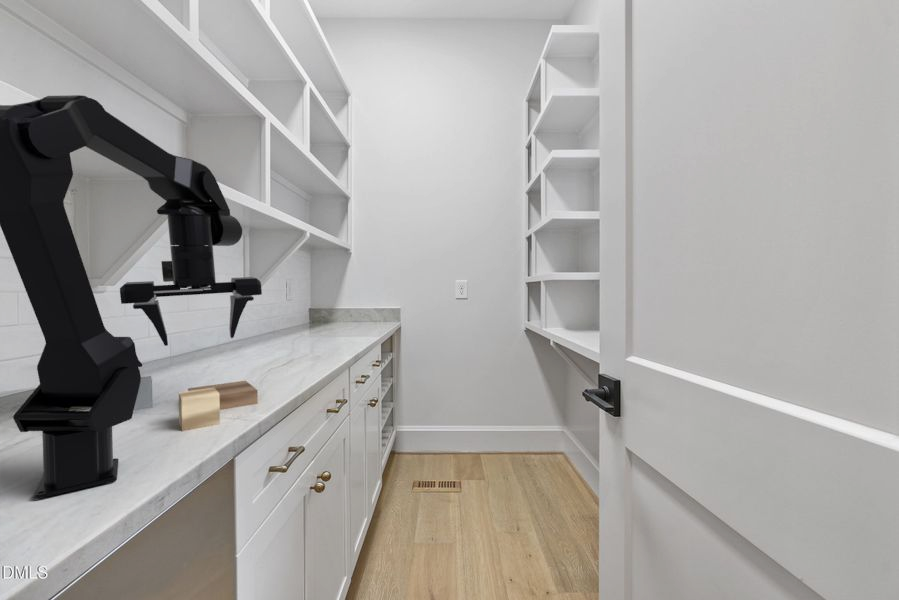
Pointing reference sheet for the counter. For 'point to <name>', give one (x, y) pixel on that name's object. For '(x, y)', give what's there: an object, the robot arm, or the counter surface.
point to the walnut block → (234, 394)
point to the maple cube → (199, 408)
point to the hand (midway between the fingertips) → (200, 341)
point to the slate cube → (144, 394)
